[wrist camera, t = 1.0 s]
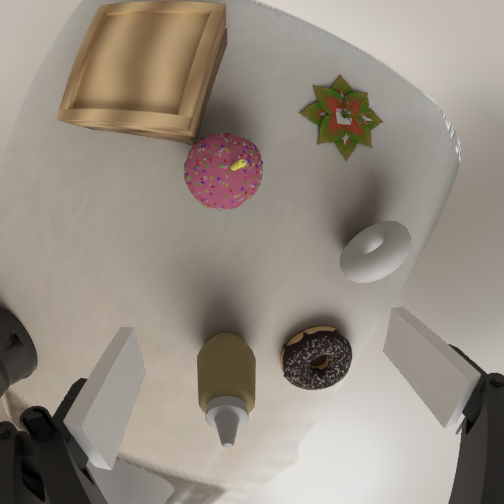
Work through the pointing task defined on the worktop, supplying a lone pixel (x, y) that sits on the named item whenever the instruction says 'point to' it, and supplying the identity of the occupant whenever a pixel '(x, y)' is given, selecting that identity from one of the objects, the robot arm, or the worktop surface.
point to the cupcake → (223, 170)
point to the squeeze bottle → (226, 384)
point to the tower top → (145, 66)
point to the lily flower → (329, 125)
